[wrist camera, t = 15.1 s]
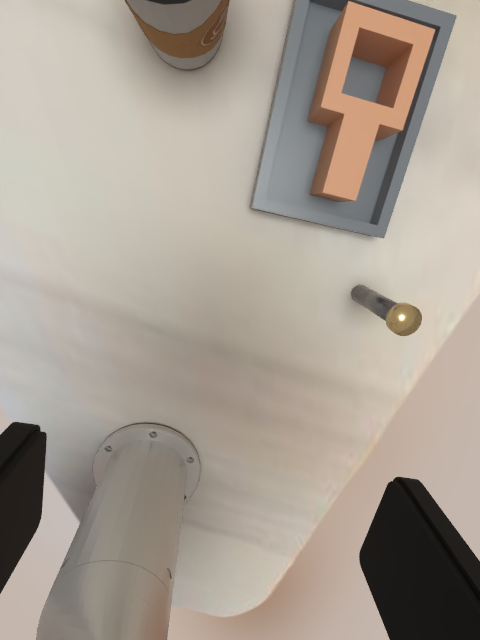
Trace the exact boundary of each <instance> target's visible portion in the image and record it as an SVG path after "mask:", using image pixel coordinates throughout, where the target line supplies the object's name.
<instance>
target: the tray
mask: <svg viewBox="0 0 480 640" xmlns="http://www.w3.org/2000/svg"><path fill="white" fill-rule="evenodd" d="M348 1H350V2H353V3H356V4H359V5H362V6H365V7H369V8H372V9H375V10H378V11H381V12H384V13H387V14H390V15H393V16H396V17H399V18H402V19H405V20H408V21H411V22H414V23H417V24H420V25H423V26H426V27H429V28H432V29H435V33H434V36H433V39H432V42H431V45H430V48H429V51H428V54H427V57H426V60H425V63H424V66H423V69H422V72H421V75H420V78H419V81H418V85H417V88H416V91H415V94H414V97H413V100H412V103H411V106H410V109H409V112H408V115H407V118H406V121H405V124H404V127H403V130H402V131H400V132H398V133H395V134H393V135H391V136H389V137H386V138H384V139H382V140H379V141H377V140H375V141H374V144H373V147H372V150H371V153H370V157H369V160H368V163H367V166H366V170H365V173H364V176H363V179H362V183H361V186H360V189H359V192H358V196H357V199H356V201H346V202H337V201H333V200H329V199H325V198H321V197H317V196H313V195H309V194H310V191H311V187H312V183H313V179H314V176H315V172H316V168H317V165H318V161H319V157H320V154H321V150H322V146H323V143H324V139H325V135H326V131H327V128H328V127H327V126H323V125H320V124H316V123H313V122H309V121H307V119H308V115H309V111H310V107H311V103H312V99H313V96H314V92H315V88H316V84H317V80H318V76H319V72H320V68H321V64H322V60H323V56H324V52H325V48H326V44H327V41H328V37H329V33H330V30H331V28H332V27H333V25H334V24H335V22H336V20H337V19H338V17H339V16H340V14H341V12H342V11H343V9H344V7H345V6H346V4H347V3H348ZM455 19H456V15H453V14H450V13H446V12H443V11H440V10H437V9H434V8H431V7H428V6H424V5H421V4H418V3H415V2H412V1H409V0H294V3H293V7H292V12H291V17H290V21H289V26H288V31H287V35H286V40H285V45H284V49H283V54H282V59H281V64H280V68H279V73H278V78H277V82H276V87H275V92H274V96H273V101H272V106H271V110H270V115H269V120H268V124H267V129H266V134H265V139H264V143H263V148H262V153H261V157H260V162H259V167H258V171H257V176H256V181H255V185H254V190H253V195H252V200H251V204H250V208H251V209H256V210H260V211H265V212H269V213H273V214H278V215H282V216H286V217H291V218H295V219H300V220H304V221H308V222H313V223H317V224H321V225H326V226H330V227H335V228H339V229H343V230H348V231H352V232H357V233H361V234H365V235H370V236H374V237H380V238H384V236H385V233H386V230H387V227H388V224H389V221H390V218H391V215H392V212H393V209H394V206H395V203H396V200H397V197H398V194H399V191H400V188H401V185H402V181H403V178H404V175H405V172H406V169H407V166H408V163H409V160H410V157H411V154H412V151H413V148H414V145H415V142H416V139H417V136H418V133H419V130H420V126H421V123H422V120H423V117H424V114H425V111H426V108H427V105H428V102H429V99H430V96H431V93H432V90H433V87H434V84H435V81H436V78H437V75H438V71H439V68H440V65H441V62H442V59H443V56H444V53H445V50H446V47H447V44H448V41H449V38H450V35H451V32H452V29H453V26H454V23H455ZM385 70H386V67H383V66H380V65H377V64H374V63H370V62H367V61H364V60H361V59H357V58H354V57H351V60H350V63H349V67H348V71H347V74H346V78H345V82H344V85H343V89H342V93H343V94H346V95H349V96H353V97H356V98H360V99H363V100H366V101H370V102H373V103H376V100H377V97H378V94H379V90H380V87H381V84H382V80H383V77H384V74H385Z"/></svg>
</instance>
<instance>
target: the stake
mask: <svg viewBox="0 0 480 640" xmlns="http://www.w3.org/2000/svg"><path fill="white" fill-rule="evenodd" d="M351 296H352V298H353V299H354V300H355V301H356V302H358V303H359V304H361V305H362V306H364V307H365V308H367V309H368V310H370V311H371V312H373V313H374V314H376V315H377V316H379V317H380V318H382V319H383V320H385V321H386V325H387V327H388V328H389V329H390V330H391V331H392V332H394V333H395V334H397V335H400V336H407V335H410V334H412V333H414V332H415V331H416V330H417V329H418V328H419V326H420V324H421V321H422V315H421V312H420V311H419V309H417V308H416V307H414V306H412V305H410V304H408V303H399V304H398V303H396V302H394V301H392V300H390V299H388V298H386V297H384V296H382V295H380V294H379V293H377V292H375V291H373V290H371V289H369V288H367V287H365V286H363V285H358V286H356V287H354V288H353V290H352V292H351Z"/></svg>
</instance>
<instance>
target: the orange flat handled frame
mask: <svg viewBox="0 0 480 640" xmlns="http://www.w3.org/2000/svg"><path fill="white" fill-rule="evenodd" d="M434 33H435V29H432V28H429V27H426V26H423V25H420V24H417V23H414V22H411V21H408V20H405V19H402V18H399V17H396V16H393V15H390V14H387V13H384V12H381V11H378V10H375V9H372V8H369V7H365V6H362V5H359V4H356V3H353V2H350V1H348V3H347V4H346V6H345V7H344V9H343V11H342V12H341V14H340V16H339V17H338V19H337V20H336V22H335V24H334V25H333V27H332V28H331V30H330V33H329V37H328V41H327V44H326V48H325V52H324V56H323V60H322V64H321V68H320V72H319V76H318V80H317V84H316V88H315V92H314V96H313V99H312V103H311V107H310V111H309V115H308V119H307V121H309V122H313V123H316V124H320V125H323V126H327V127H328V128H327V131H326V135H325V139H324V143H323V146H322V150H321V154H320V157H319V161H318V165H317V168H316V172H315V176H314V179H313V183H312V187H311V191H310V194H309V195H313V196H317V197H321V198H325V199H329V200H333V201H337V202H346V201H356V199H357V196H358V192H359V189H360V186H361V183H362V179H363V176H364V173H365V170H366V166H367V163H368V160H369V157H370V153H371V150H372V147H373V144H374V141H375V140H377V141H379V140H382V139H384V138H386V137H389V136H391V135H393V134H395V133H398V132H400V131H402V130H403V127H404V124H405V121H406V118H407V115H408V112H409V109H410V106H411V103H412V100H413V97H414V94H415V91H416V88H417V85H418V81H419V78H420V75H421V72H422V69H423V66H424V63H425V60H426V57H427V54H428V51H429V48H430V45H431V42H432V39H433V36H434ZM351 57H354V58H357V59H361V60H364V61H367V62H370V63H374V64H377V65H380V66H383V67H386V70H385V74H384V77H383V80H382V84H381V87H380V90H379V94H378V97H377V100H376V103H373V102H370V101H366V100H363V99H360V98H356V97H353V96H349V95H346V94H343V93H342V89H343V85H344V82H345V78H346V74H347V71H348V67H349V63H350V60H351Z"/></svg>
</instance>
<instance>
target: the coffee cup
mask: <svg viewBox="0 0 480 640" xmlns="http://www.w3.org/2000/svg"><path fill="white" fill-rule="evenodd" d="M125 2H126V3H127V5H128V7H129V8H130V10H131V12H132V14H133V15H134V17H135V19H136V20H137V22H138V24H139V25H140V27H141V29H142V30H143V32H144V34H145V35H146V37H147V38H148V40H149V41H150V43H151V44H152V46H153V48H154V49H155V51H156V52H157V54H158V55H159V56H160V57H161V58H162V59H163V60H164V61H165V62H166V63H168V64H170V65H172V66H174V67H176V68H180V69H184V70H187V69H196V68H198V67H201V66H203V65H205V64H206V63H207V62H208V61H210V60H211V59H212V58H213V56H214V55H215V53H216V52H217V51H218V48H219V46H220V43H221V41H222V36H223V30H224V28H225V24H226V18H227V12H228V6H229V0H125Z"/></svg>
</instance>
